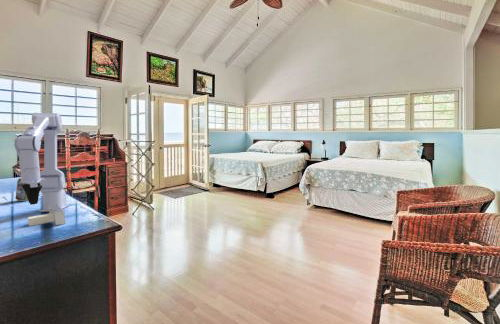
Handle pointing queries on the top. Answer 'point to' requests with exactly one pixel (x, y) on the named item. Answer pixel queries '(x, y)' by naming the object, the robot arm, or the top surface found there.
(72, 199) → the top surface
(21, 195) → the beverage can
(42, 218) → the rod
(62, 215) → the housing
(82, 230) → the top surface
